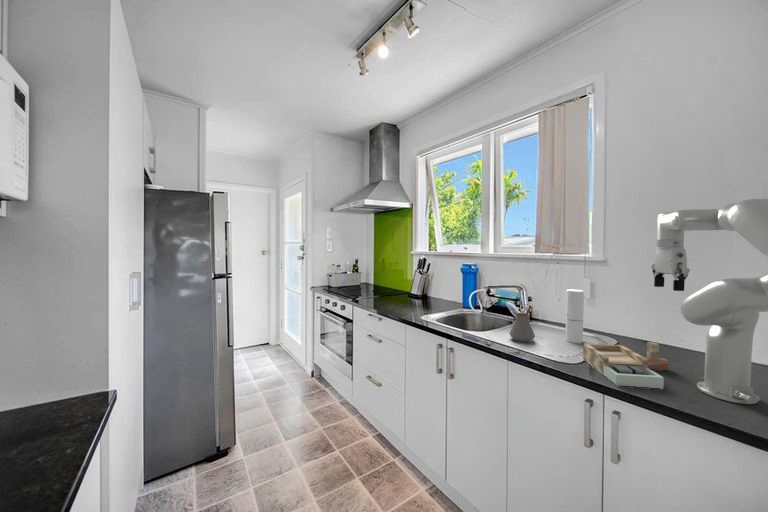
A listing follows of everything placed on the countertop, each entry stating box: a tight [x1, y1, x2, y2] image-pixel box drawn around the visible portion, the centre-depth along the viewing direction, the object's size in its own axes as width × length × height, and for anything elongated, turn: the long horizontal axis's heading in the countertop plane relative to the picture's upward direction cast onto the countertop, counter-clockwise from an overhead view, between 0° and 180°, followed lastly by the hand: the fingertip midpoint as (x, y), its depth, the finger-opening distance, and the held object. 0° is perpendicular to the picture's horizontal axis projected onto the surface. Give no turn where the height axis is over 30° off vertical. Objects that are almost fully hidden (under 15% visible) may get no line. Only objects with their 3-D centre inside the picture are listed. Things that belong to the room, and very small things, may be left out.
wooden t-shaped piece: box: [643, 341, 669, 371], centre depth 113 cm, size 2×9×10 cm, turn 79°
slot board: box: [582, 342, 648, 375], centre depth 113 cm, size 15×14×7 cm
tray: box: [603, 366, 665, 390], centre depth 102 cm, size 8×14×4 cm, turn 80°
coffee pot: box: [509, 305, 536, 343], centre depth 151 cm, size 21×12×15 cm, turn 139°
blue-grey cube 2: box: [612, 365, 632, 374], centre depth 104 cm, size 4×4×4 cm
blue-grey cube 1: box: [629, 366, 650, 375], centre depth 103 cm, size 4×4×4 cm
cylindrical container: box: [565, 288, 585, 344], centre depth 145 cm, size 7×7×25 cm
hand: (668, 288), depth 115 cm, fingers open, 9 cm apart
